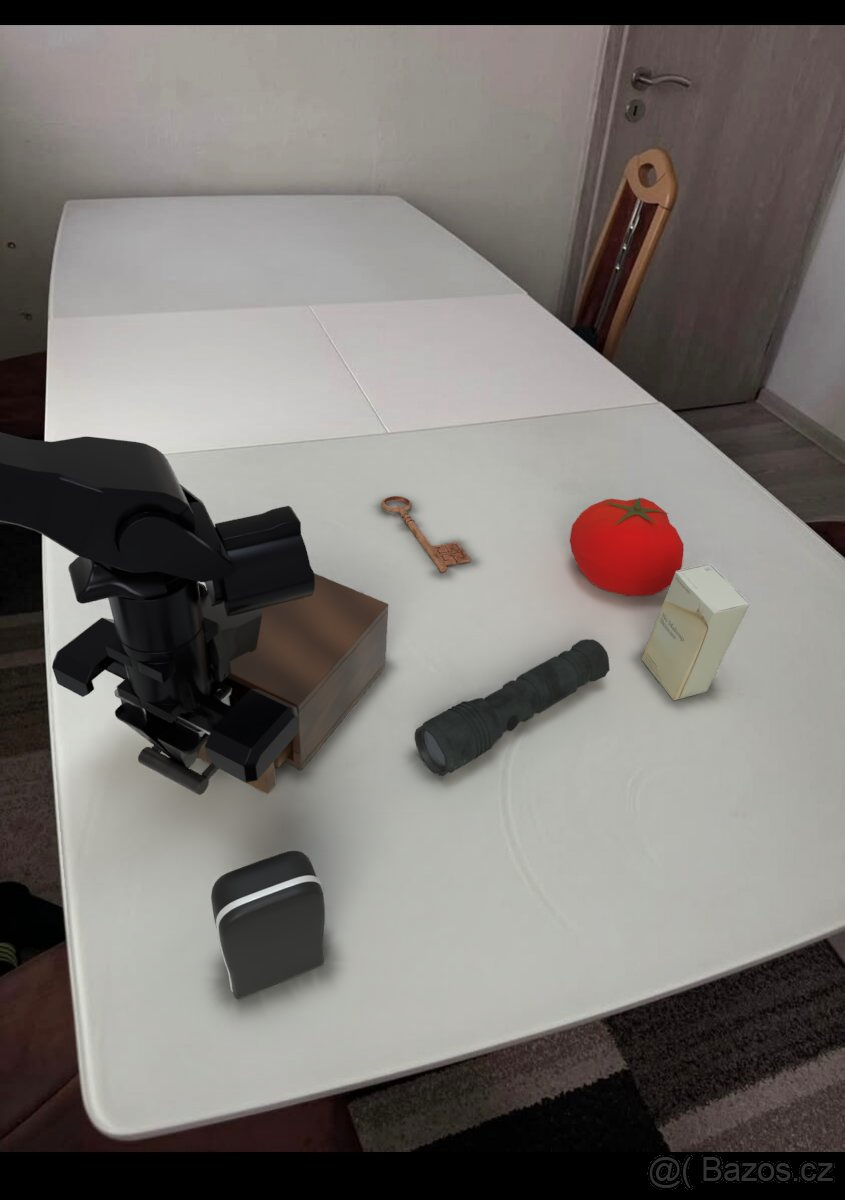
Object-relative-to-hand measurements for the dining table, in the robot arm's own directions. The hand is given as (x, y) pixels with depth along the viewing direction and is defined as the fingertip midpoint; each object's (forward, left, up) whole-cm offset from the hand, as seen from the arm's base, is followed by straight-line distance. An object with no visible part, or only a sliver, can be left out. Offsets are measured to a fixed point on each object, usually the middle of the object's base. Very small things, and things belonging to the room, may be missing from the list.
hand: (188, 763), depth 66 cm
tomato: (+48, -22, -4) cm, 53 cm away
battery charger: (-8, -14, -4) cm, 17 cm away
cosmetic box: (+36, -32, -4) cm, 48 cm away
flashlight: (+22, -20, -4) cm, 30 cm away
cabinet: (+14, 0, -4) cm, 15 cm away
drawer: (+7, 0, -3) cm, 8 cm away
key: (+43, +1, -4) cm, 43 cm away
